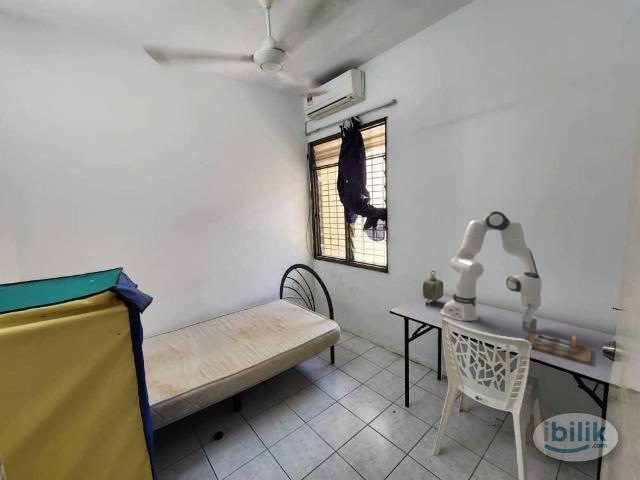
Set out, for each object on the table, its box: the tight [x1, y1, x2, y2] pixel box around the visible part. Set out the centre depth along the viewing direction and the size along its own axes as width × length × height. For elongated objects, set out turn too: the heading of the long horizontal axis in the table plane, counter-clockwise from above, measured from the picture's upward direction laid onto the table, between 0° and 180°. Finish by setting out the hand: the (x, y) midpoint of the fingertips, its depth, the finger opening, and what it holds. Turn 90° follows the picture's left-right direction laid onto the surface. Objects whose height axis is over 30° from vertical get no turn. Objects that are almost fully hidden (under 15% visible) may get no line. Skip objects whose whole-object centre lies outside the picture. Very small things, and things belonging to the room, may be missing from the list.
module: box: [521, 318, 538, 334], centre depth 150 cm, size 6×3×7 cm, turn 43°
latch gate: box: [571, 334, 577, 347], centre depth 130 cm, size 1×6×4 cm, turn 133°
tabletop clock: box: [422, 270, 444, 305], centre depth 198 cm, size 14×9×25 cm, turn 130°
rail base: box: [525, 332, 593, 366], centre depth 131 cm, size 24×16×4 cm, turn 43°
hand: (529, 324), depth 150 cm, fingers open, 6 cm apart
